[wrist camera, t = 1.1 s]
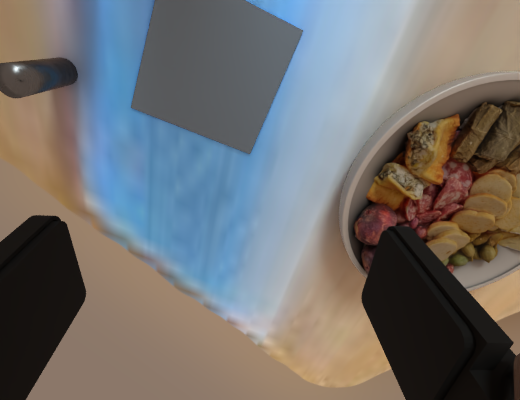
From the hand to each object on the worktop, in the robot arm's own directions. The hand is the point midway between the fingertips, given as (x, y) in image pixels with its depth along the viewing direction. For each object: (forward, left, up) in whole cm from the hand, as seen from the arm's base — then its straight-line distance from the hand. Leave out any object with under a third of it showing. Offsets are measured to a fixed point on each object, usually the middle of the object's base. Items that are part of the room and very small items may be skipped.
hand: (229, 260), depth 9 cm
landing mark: (-2, -4, -27) cm, 27 cm away
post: (+4, -18, -27) cm, 32 cm away
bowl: (0, +29, -28) cm, 40 cm away
